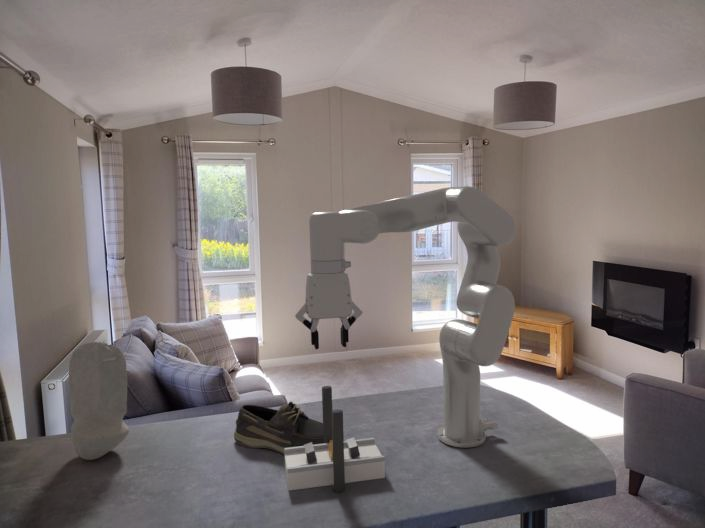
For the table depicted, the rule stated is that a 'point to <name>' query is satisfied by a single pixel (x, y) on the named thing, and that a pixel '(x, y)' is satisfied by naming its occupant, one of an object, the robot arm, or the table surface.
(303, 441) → the boat shoe
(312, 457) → the grey block
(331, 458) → the rectangular block
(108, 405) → the sculpture
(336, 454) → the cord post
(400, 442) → the table surface
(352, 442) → the grey block
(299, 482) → the breaker panel
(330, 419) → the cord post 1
